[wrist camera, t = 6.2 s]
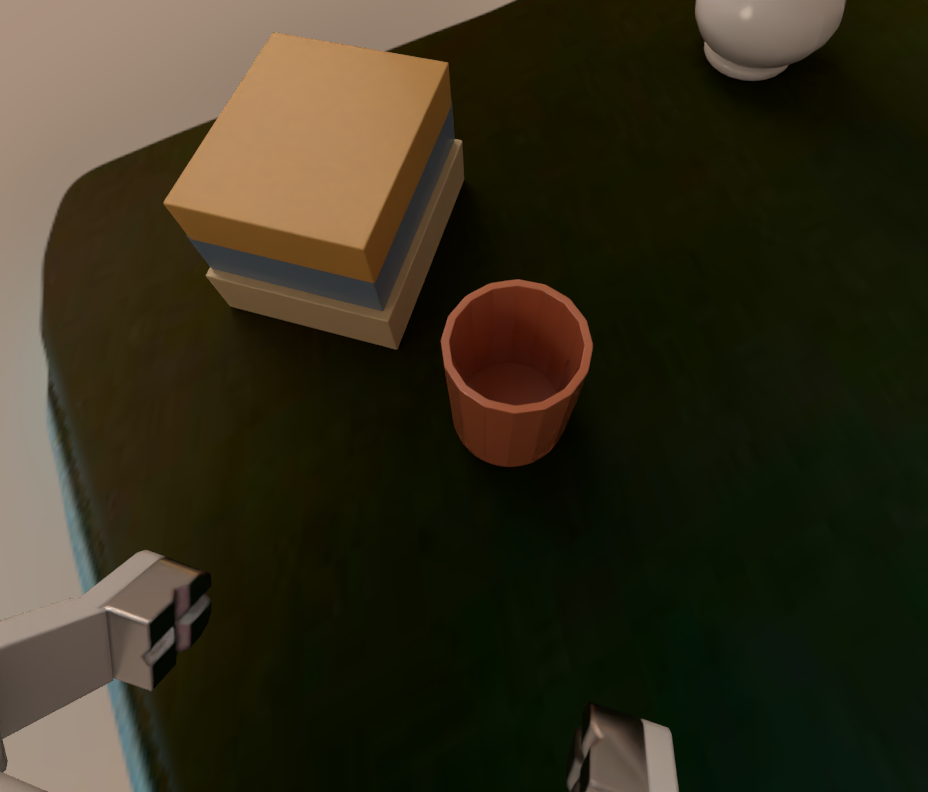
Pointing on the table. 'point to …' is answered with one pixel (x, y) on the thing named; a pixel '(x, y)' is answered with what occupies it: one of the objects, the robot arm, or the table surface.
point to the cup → (514, 369)
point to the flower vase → (764, 33)
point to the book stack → (326, 186)
